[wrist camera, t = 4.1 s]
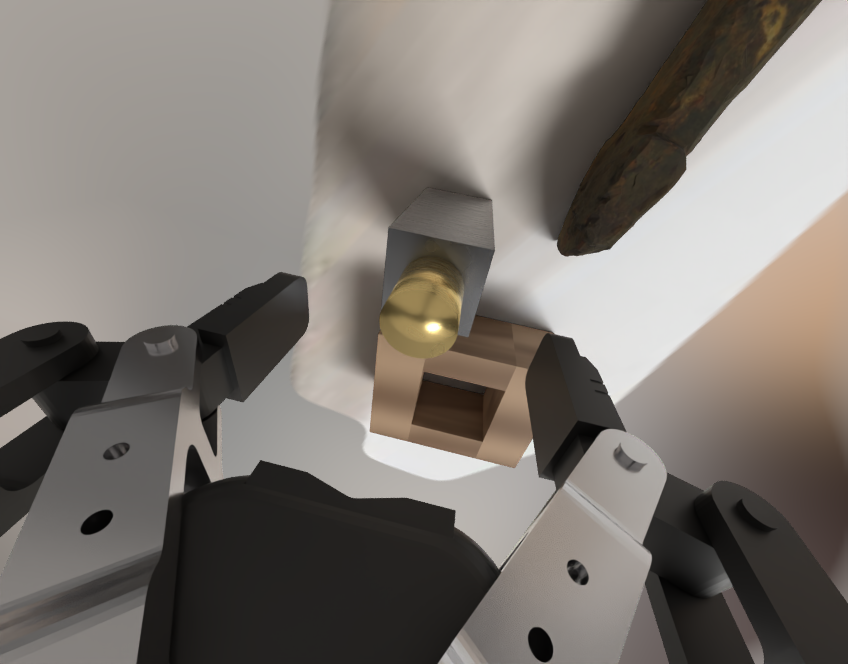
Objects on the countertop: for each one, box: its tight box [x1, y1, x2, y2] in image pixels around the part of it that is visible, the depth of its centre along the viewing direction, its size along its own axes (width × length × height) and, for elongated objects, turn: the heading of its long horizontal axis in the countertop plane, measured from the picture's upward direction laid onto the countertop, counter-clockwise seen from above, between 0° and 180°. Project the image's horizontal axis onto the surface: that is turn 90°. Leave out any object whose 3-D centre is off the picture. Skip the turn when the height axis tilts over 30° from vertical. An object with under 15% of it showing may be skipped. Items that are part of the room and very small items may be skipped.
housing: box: [370, 315, 554, 468], centre depth 24 cm, size 10×12×5 cm
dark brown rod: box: [557, 0, 822, 256], centre depth 12 cm, size 19×4×5 cm, turn 153°
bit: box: [379, 187, 495, 359], centre depth 15 cm, size 4×4×12 cm
